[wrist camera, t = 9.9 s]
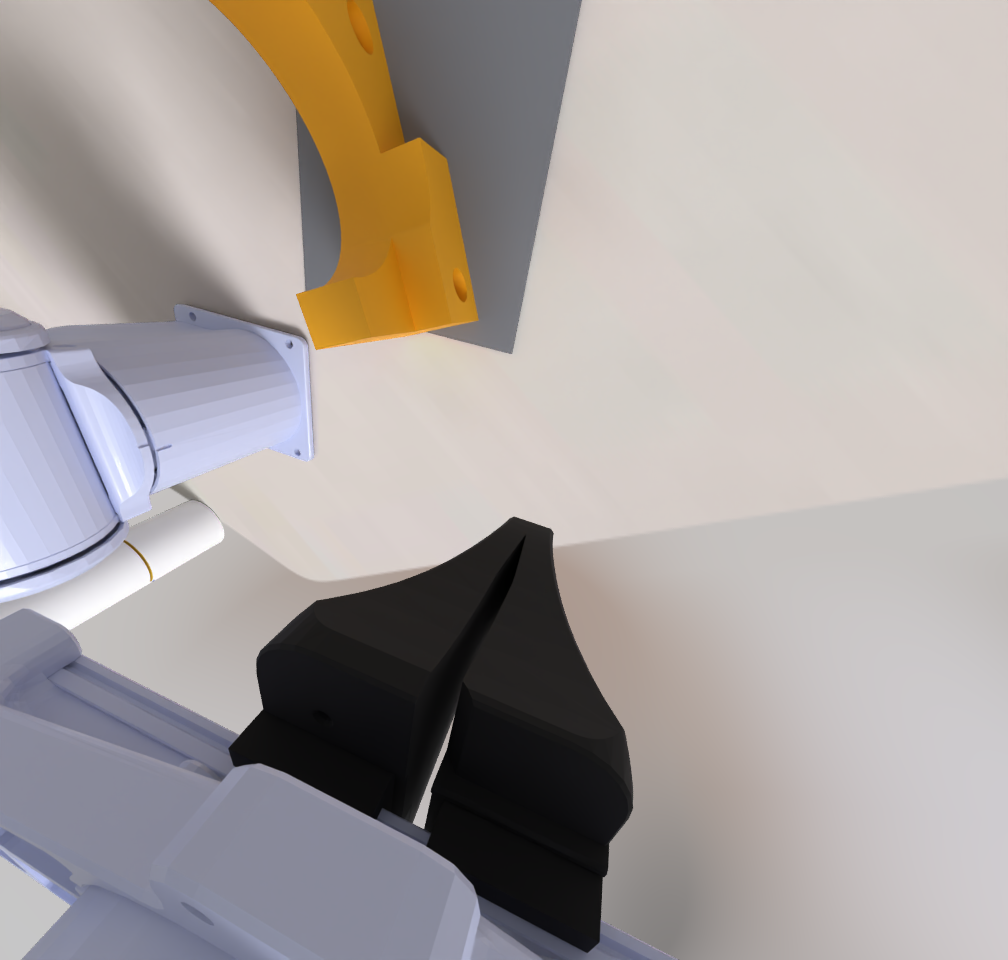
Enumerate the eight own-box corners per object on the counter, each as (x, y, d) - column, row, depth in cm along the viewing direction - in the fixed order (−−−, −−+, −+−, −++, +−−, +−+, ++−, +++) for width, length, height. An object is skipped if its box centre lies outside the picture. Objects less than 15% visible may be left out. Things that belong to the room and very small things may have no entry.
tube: (188, 490, 31) (-128, 625, 18) (229, 525, 31) (-53, 681, 18) (179, 519, 33) (-110, 658, 20) (217, 551, 34) (-43, 708, 21)
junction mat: (308, 300, 21) (306, 300, 21) (284, -189, 13) (279, -196, 13) (512, 353, 19) (511, 354, 19) (619, -191, 11) (619, -199, 11)
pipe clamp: (478, 320, 18) (413, 327, 13) (404, 336, 20) (315, 350, 14) (410, -24, 14) (265, -242, 8) (321, 30, 15) (146, -124, 10)
